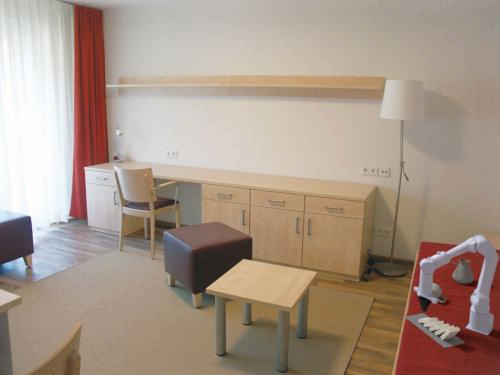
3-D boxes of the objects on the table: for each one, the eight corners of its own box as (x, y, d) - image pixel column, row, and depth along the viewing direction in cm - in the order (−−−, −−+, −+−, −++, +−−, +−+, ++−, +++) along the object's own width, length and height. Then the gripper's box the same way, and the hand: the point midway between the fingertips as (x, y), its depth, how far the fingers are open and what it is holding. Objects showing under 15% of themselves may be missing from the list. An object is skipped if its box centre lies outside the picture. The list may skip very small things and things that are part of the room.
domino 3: (428, 327, 199) (439, 325, 192) (438, 325, 200) (448, 323, 193) (430, 331, 198) (440, 328, 191) (439, 329, 200) (449, 326, 193)
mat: (404, 317, 212) (404, 316, 212) (423, 313, 215) (423, 313, 214) (444, 348, 185) (444, 347, 185) (465, 343, 188) (465, 343, 188)
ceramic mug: (422, 300, 229) (423, 286, 227) (426, 294, 235) (427, 281, 234) (443, 305, 223) (445, 292, 221) (447, 299, 229) (448, 286, 228)
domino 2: (423, 323, 202) (433, 322, 195) (432, 321, 204) (443, 320, 196) (424, 326, 202) (435, 326, 195) (433, 325, 203) (444, 324, 196)
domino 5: (440, 336, 192) (448, 328, 186) (449, 334, 193) (458, 326, 188) (442, 340, 191) (450, 332, 185) (451, 338, 192) (460, 330, 186)
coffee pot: (472, 278, 254) (474, 254, 251) (475, 286, 243) (477, 261, 240) (432, 274, 260) (434, 251, 257) (434, 282, 250) (436, 258, 247)
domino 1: (418, 319, 206) (428, 319, 199) (426, 317, 207) (437, 317, 200) (418, 322, 206) (429, 322, 198) (427, 321, 207) (438, 321, 200)
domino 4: (434, 332, 195) (444, 327, 189) (443, 330, 197) (453, 325, 190) (435, 335, 195) (445, 330, 188) (445, 333, 196) (455, 328, 189)
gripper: (408, 279, 208) (407, 305, 211) (429, 291, 194) (427, 319, 197) (421, 277, 210) (419, 303, 213) (442, 289, 196) (440, 317, 199)
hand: (424, 310), depth 205 cm, fingers closed
